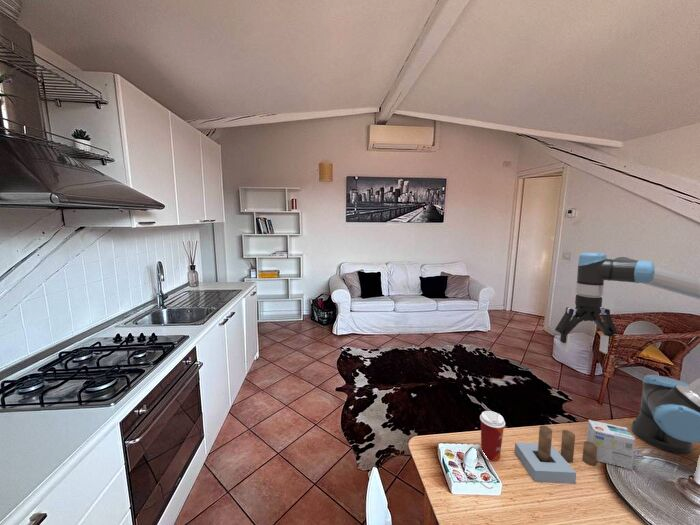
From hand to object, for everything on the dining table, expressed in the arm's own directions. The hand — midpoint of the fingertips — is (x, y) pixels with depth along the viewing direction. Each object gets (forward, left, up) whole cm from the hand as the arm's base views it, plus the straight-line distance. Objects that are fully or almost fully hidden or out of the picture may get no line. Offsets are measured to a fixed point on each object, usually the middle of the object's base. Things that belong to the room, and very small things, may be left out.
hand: (584, 351), depth 108 cm
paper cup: (+38, +14, -32) cm, 52 cm away
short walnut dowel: (+7, +15, -32) cm, 36 cm away
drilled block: (+23, +18, -32) cm, 43 cm away
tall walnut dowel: (+23, +18, -32) cm, 43 cm away
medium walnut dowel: (+13, +14, -32) cm, 37 cm away
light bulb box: (-1, +13, -32) cm, 35 cm away
